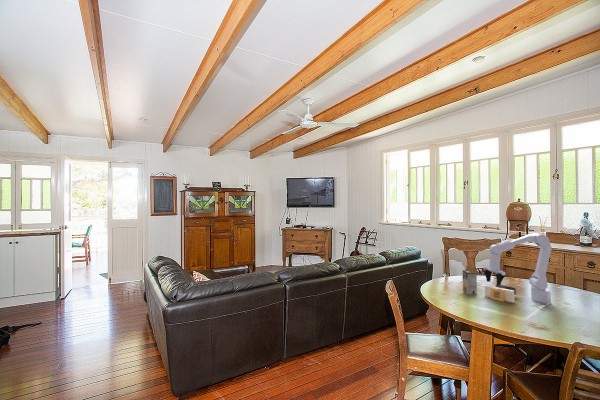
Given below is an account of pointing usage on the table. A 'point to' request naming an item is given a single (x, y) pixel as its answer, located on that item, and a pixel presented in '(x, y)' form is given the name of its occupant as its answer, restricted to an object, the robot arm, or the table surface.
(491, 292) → the block
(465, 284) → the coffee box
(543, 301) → the robot arm
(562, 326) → the table surface
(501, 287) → the shaft
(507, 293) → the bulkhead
